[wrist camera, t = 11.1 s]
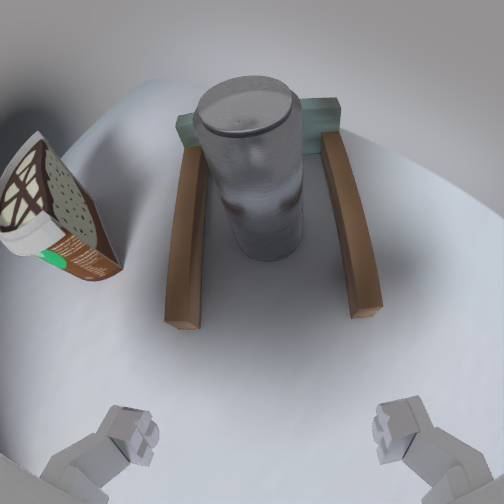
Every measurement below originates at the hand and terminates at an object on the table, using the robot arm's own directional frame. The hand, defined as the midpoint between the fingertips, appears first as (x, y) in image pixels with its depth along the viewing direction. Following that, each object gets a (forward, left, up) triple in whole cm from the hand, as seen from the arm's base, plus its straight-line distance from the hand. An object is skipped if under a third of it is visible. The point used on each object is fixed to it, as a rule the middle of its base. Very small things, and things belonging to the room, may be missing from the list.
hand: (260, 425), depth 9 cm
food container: (-17, +12, -8) cm, 22 cm away
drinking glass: (0, +12, -8) cm, 15 cm away
